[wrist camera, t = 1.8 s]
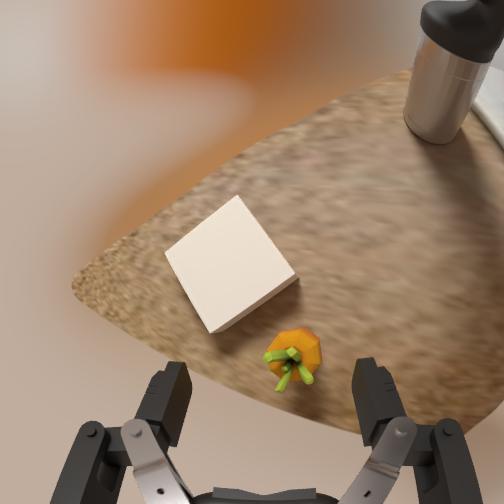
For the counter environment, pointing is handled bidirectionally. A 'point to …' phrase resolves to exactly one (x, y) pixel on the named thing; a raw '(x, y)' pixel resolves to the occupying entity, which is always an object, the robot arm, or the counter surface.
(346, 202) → the counter surface
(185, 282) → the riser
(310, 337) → the carrot
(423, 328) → the counter surface
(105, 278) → the counter surface
